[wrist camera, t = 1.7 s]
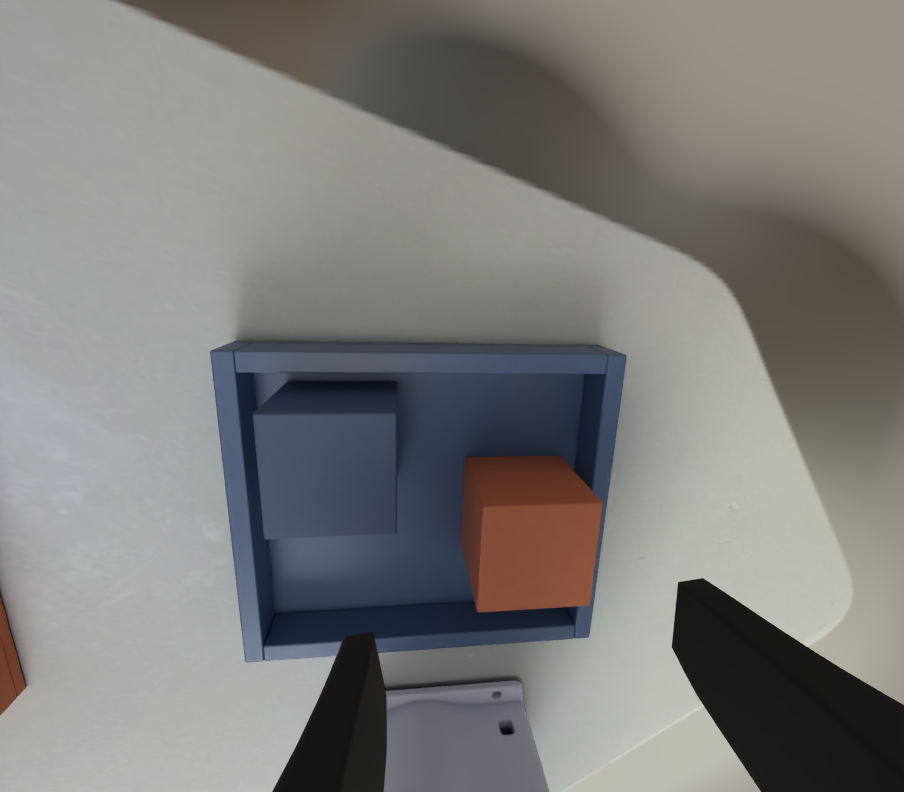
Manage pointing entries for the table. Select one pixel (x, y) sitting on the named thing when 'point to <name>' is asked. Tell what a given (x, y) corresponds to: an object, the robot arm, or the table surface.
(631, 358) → the table surface
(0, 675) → the terracotta tray
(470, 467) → the terracotta block
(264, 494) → the blue block
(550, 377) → the blue tray
